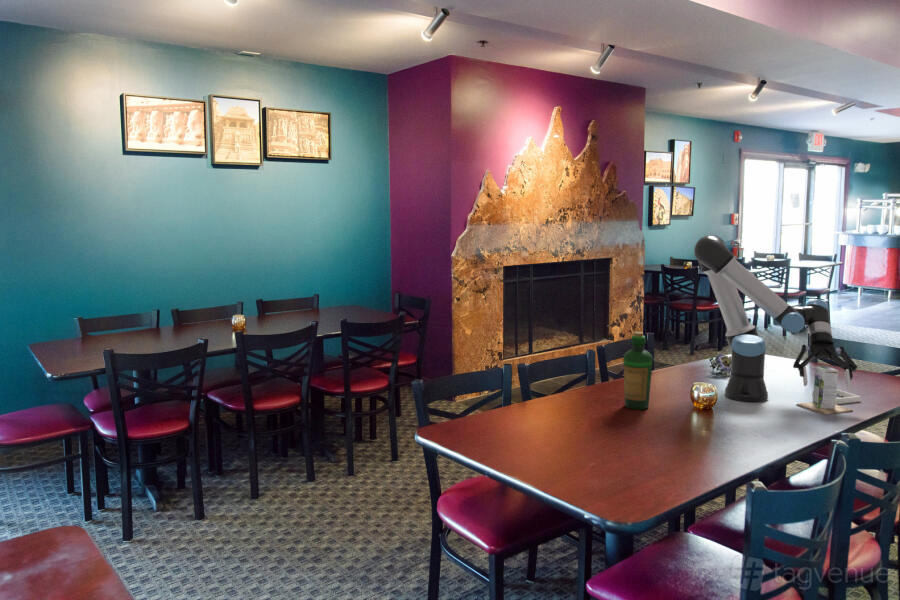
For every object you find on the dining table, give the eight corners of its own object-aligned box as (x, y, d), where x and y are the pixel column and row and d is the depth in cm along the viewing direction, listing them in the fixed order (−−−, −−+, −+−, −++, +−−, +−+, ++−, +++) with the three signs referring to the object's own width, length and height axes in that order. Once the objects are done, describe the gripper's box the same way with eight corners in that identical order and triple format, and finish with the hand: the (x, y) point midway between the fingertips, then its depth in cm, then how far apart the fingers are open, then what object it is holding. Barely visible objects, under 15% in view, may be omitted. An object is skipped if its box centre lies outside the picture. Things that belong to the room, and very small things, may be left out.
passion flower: (726, 387, 280) (722, 369, 274) (704, 378, 289) (700, 360, 282) (741, 371, 284) (737, 352, 277) (719, 362, 292) (715, 344, 286)
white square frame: (836, 404, 237) (837, 399, 237) (812, 396, 247) (812, 391, 247) (860, 401, 240) (860, 396, 240) (834, 393, 250) (835, 388, 250)
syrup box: (811, 404, 235) (814, 365, 233) (828, 404, 235) (831, 366, 233) (818, 408, 230) (821, 369, 228) (836, 409, 229) (839, 369, 227)
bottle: (615, 405, 239) (617, 331, 235) (637, 401, 244) (639, 329, 240) (636, 412, 230) (638, 336, 226) (657, 408, 234) (660, 333, 231)
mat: (823, 415, 225) (823, 413, 225) (796, 405, 236) (796, 403, 236) (852, 411, 228) (852, 409, 228) (824, 402, 240) (824, 400, 240)
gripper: (856, 343, 240) (864, 393, 228) (782, 340, 248) (786, 388, 236) (861, 332, 234) (870, 382, 222) (785, 329, 242) (790, 377, 230)
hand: (827, 385), depth 229 cm, fingers open, 13 cm apart
